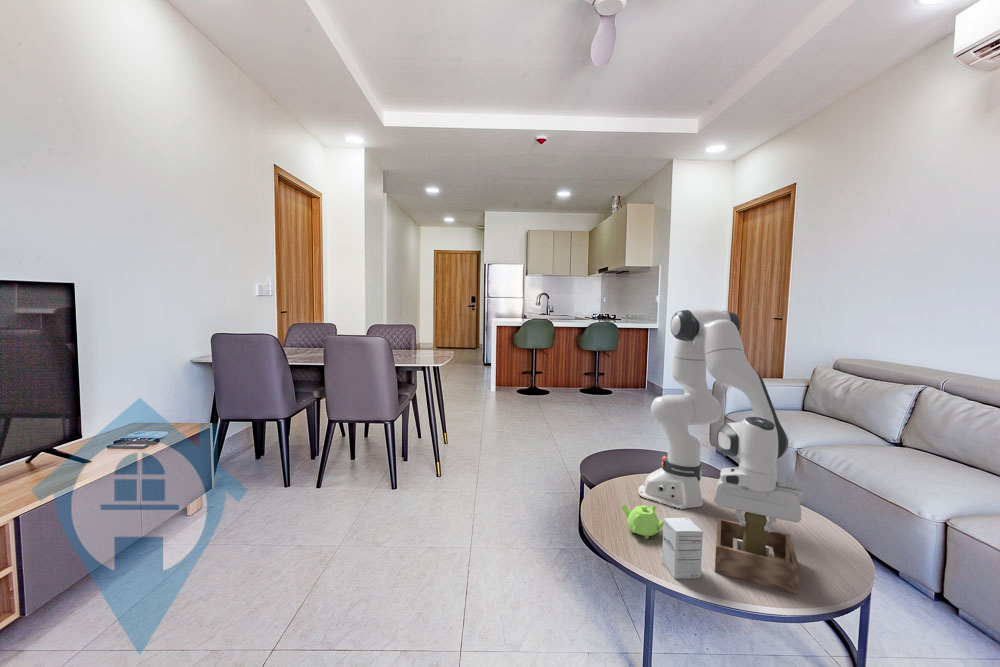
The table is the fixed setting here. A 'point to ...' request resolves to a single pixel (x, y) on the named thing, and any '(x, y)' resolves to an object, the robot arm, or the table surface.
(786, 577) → the walled box
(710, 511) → the table surface
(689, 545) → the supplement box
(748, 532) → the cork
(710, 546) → the table surface
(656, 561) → the table surface
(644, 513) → the teapot
